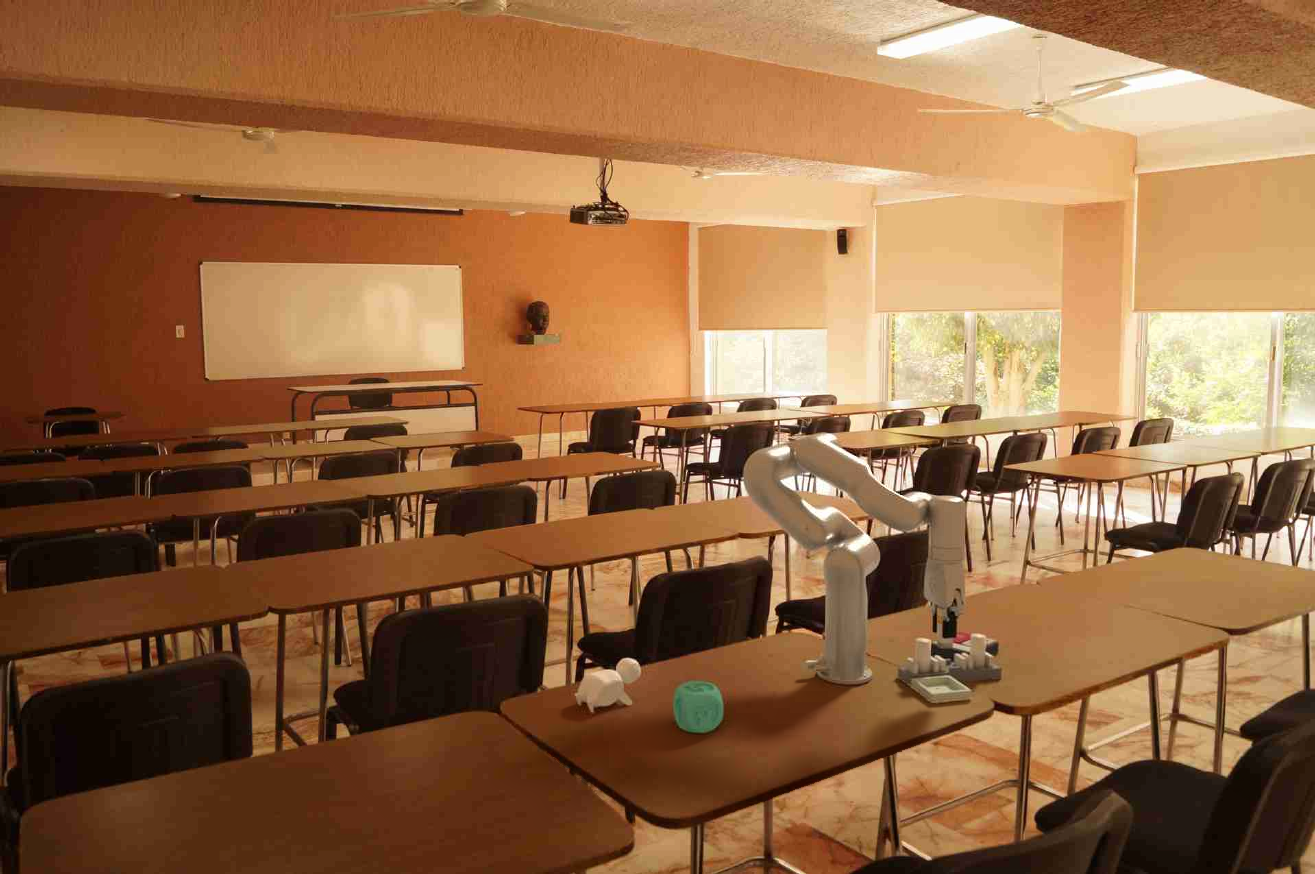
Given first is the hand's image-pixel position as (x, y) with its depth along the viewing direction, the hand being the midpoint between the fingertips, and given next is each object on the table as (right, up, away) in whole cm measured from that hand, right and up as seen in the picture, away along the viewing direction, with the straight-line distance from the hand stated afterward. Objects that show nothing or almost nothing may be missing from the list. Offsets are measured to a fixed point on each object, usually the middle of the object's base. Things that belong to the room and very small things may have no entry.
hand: (944, 634), depth 214 cm
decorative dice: (-55, -16, -15) cm, 59 cm away
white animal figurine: (-73, -14, -3) cm, 75 cm away
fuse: (0, -3, 0) cm, 3 cm away
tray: (0, -14, +2) cm, 14 cm away
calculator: (+13, -11, +27) cm, 32 cm away
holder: (+5, -12, +11) cm, 18 cm away
